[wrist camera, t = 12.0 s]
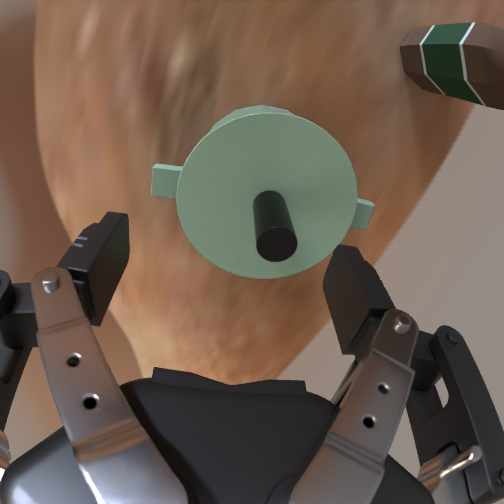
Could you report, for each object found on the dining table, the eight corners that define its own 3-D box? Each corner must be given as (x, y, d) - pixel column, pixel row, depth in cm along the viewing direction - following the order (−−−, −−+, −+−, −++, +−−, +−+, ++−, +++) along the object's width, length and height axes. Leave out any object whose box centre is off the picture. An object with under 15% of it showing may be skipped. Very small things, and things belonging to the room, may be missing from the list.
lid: (190, 96, 18) (168, 106, 13) (374, 136, 20) (418, 163, 15) (173, 259, 26) (158, 313, 20) (323, 279, 27) (341, 333, 22)
